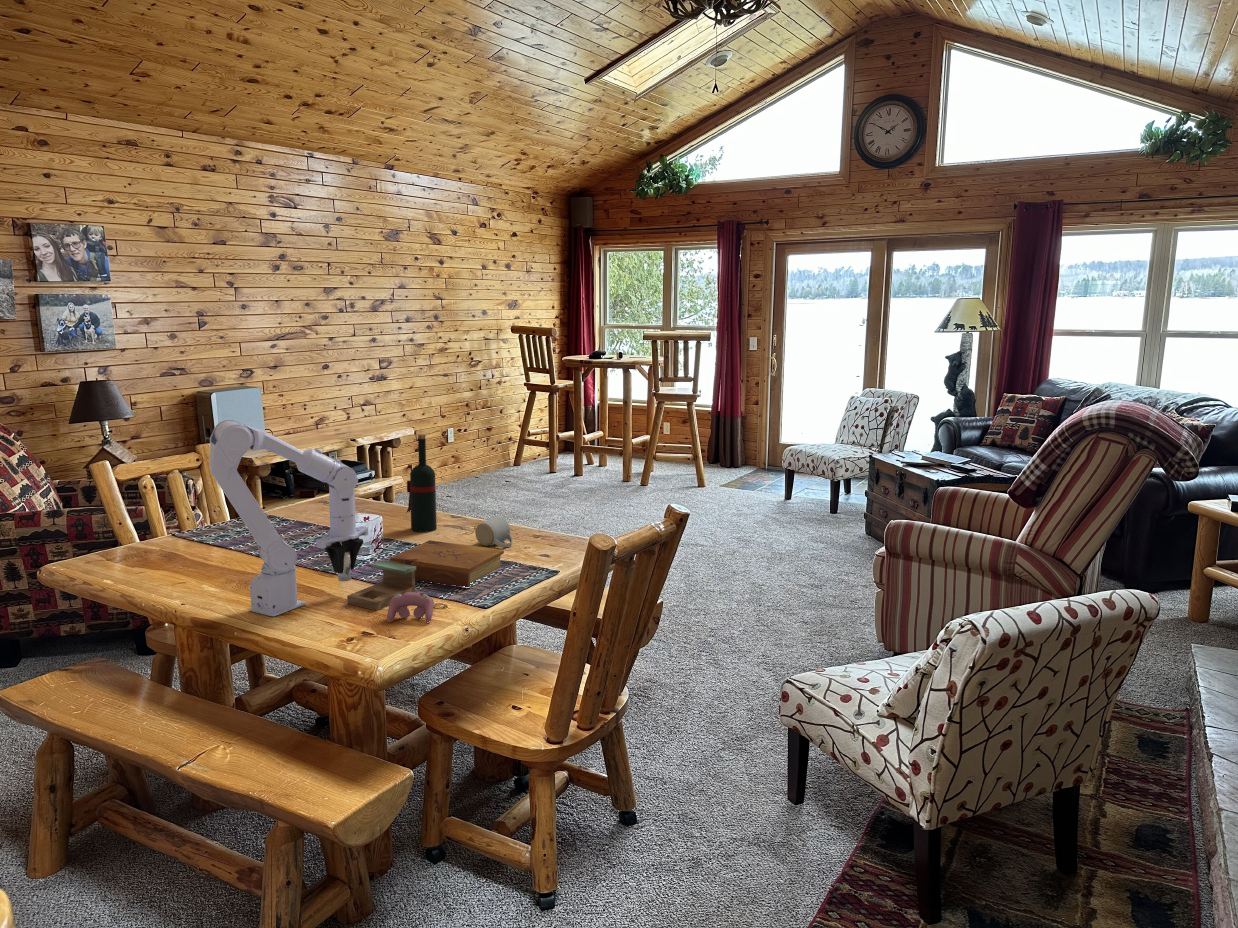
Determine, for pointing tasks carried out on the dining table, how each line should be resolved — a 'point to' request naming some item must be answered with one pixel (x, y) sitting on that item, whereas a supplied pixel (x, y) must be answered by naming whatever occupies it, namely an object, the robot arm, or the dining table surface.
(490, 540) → the ceramic mug
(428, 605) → the video game controller
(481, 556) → the diary
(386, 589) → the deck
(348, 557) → the peg
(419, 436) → the wine bottle
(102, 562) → the dining table surface
